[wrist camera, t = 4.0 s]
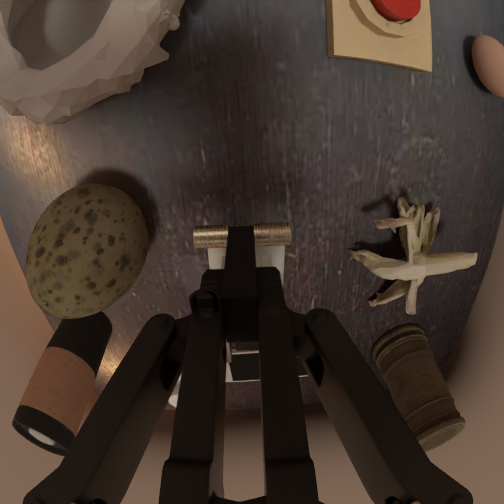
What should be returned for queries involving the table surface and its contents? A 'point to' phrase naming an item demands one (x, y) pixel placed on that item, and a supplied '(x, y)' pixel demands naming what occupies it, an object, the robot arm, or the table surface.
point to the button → (397, 8)
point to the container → (417, 386)
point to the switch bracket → (264, 258)
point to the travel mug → (63, 383)
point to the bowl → (77, 52)
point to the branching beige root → (411, 254)
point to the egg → (489, 63)
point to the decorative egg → (86, 251)
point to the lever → (263, 237)
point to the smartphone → (250, 366)
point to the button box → (379, 35)
